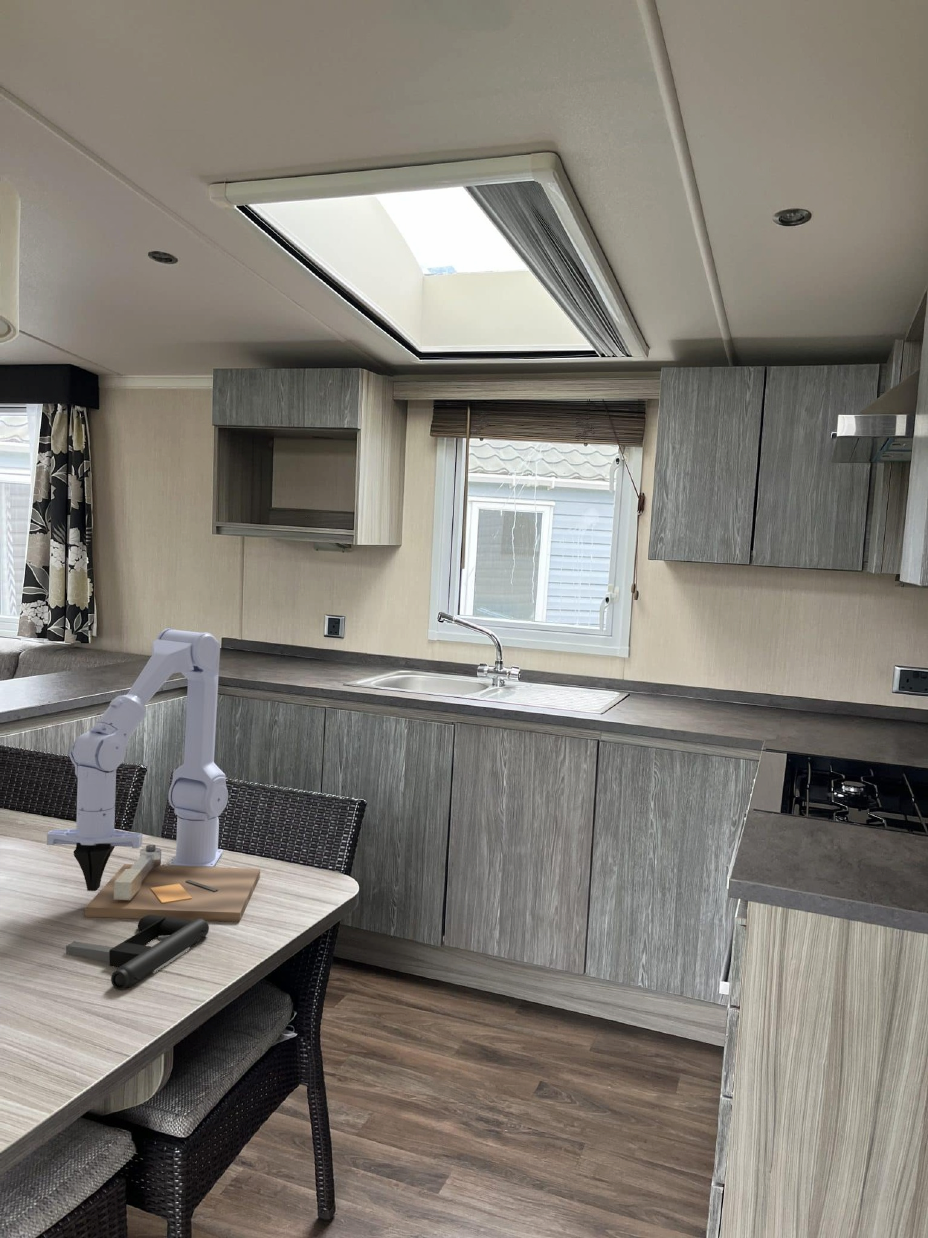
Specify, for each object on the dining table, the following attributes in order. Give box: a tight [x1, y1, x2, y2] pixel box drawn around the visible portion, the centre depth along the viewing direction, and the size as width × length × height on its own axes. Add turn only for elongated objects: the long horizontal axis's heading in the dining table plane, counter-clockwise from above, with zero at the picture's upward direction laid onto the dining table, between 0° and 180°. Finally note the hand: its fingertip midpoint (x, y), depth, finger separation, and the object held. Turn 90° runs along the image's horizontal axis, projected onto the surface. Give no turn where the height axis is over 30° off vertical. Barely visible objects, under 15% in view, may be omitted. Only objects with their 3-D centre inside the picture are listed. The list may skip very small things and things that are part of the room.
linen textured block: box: [114, 844, 162, 900], centre depth 155 cm, size 18×4×4 cm, turn 4°
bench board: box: [84, 863, 261, 923], centre depth 154 cm, size 20×24×2 cm
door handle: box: [65, 915, 210, 991], centre depth 132 cm, size 3×20×16 cm
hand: (93, 888), depth 149 cm, fingers closed
